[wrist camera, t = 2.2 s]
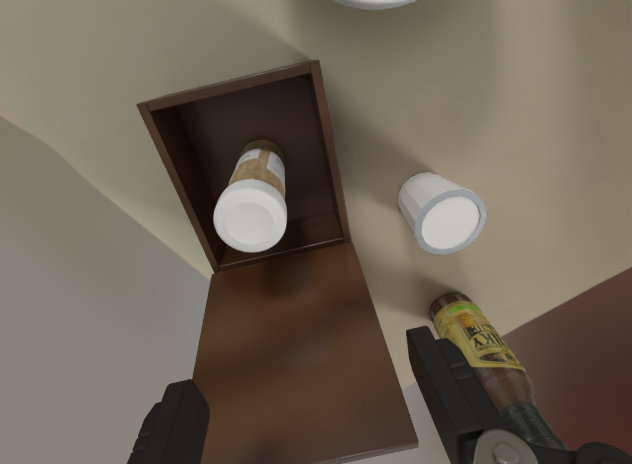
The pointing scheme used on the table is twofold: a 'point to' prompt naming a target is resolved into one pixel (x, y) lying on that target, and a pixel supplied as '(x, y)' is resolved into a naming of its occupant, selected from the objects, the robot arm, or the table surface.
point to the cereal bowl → (374, 3)
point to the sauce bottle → (494, 367)
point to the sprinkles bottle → (254, 200)
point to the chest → (230, 139)
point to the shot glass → (441, 213)
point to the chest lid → (298, 365)
